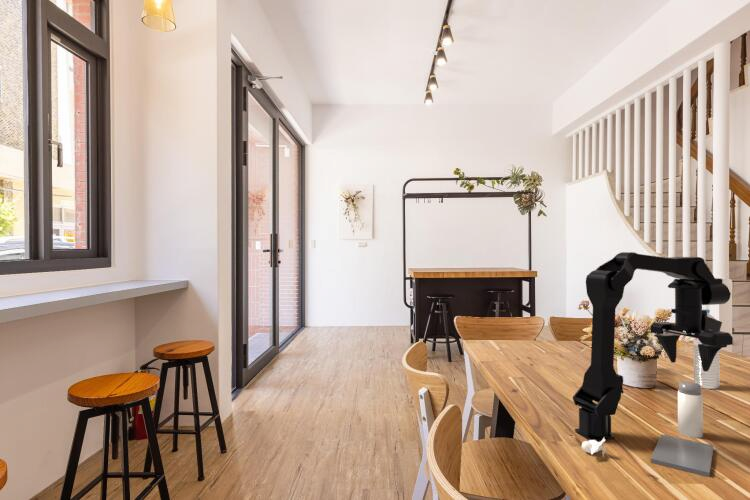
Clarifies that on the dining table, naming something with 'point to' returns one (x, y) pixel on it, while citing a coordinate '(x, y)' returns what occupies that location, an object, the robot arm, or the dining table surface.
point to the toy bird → (593, 446)
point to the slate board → (683, 454)
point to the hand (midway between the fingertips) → (688, 366)
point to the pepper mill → (690, 410)
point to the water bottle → (713, 374)
